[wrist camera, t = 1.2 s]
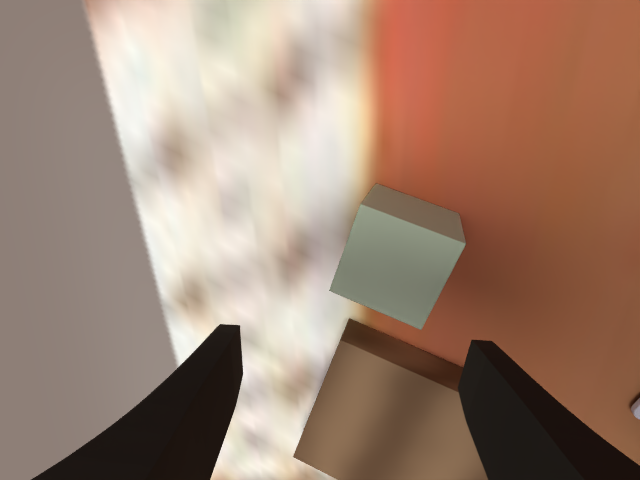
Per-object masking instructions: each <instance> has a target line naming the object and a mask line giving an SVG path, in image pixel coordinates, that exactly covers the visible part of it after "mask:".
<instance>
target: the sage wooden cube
mask: <svg viewBox="0 0 640 480" xmlns="http://www.w3.org/2000/svg"><path fill="white" fill-rule="evenodd" d="M465 245H466V242H465V237H464V233H463V228H462V224H461V219H460V215H459V213H456V212H454V211H451V210H448V209H445V208H443V207H440V206H437V205H435V204H432V203H429V202H426V201H424V200H421V199H418V198H415V197H413V196H410V195H407V194H404V193H402V192H399V191H396V190H394V189H391V188H388V187H385V186H383V185H380V184H377V183H376V184H375V185H374V186H373V188H372V189H371V190H370V192H369V193H368V195H367V196H366V197H365V199H364V200H363V201H362V203H361V204H360V207H359V209H358V212H357V215H356V218H355V221H354V223H353V226H352V229H351V232H350V235H349V237H348V240H347V243H346V246H345V248H344V251H343V254H342V257H341V260H340V262H339V265H338V268H337V271H336V274H335V276H334V279H333V282H332V285H331V287H330V290H329V291H331V292H333V293H336V294H338V295H340V296H343V297H345V298H347V299H350V300H352V301H354V302H357V303H359V304H362V305H364V306H366V307H369V308H371V309H373V310H376V311H378V312H380V313H383V314H385V315H387V316H390V317H392V318H395V319H397V320H399V321H402V322H404V323H406V324H409V325H411V326H413V327H416V328H418V329H420V330H421V329H422V327H423V325H424V324H425V322H426V320H427V318H428V316H429V314H430V312H431V310H432V308H433V306H434V304H435V302H436V301H437V299H438V297H439V295H440V293H441V291H442V289H443V287H444V285H445V283H446V281H447V279H448V278H449V276H450V274H451V272H452V270H453V268H454V266H455V264H456V262H457V260H458V258H459V256H460V255H461V253H462V251H463V249H464V247H465Z"/></svg>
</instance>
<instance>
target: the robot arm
mask: <svg viewBox="0 0 640 480" xmlns="http://www.w3.org/2000/svg"><path fill="white" fill-rule="evenodd" d="M242 376H243V365H242V351H241V336H240V325H225V324H220V325H219V326H218V327H217V328H216V329H215V330H214V331H213V332H212V333H211V334H210V335H209V336H208V337H207V338H206V340H205V341H204V342H203V343H202V344H201V345H200V346H199V347H198V348H197V349H196V350H195V351H194V352H193V353H192V354H191V355H190V356H189V357H188V358H187V359H186V360H185V361H184V362H183V363H182V364H181V365H180V366H179V367H178V368H177V369H176V370H175V371H174V372H173V373H172V374H171V375H170V376H169V377H168V378H167V379H166V380H165V381H164V382H163V383H161V384H160V385H159V386H158V387H157V388H156V389H155V390H154V391H153V392H152V393H151V394H149V395H148V396H147V397H146V398H145V399H144V400H142V401H141V402H140V403H139V404H138V405H137V406H136V407H134V408H133V409H132V410H130V411H129V412H128V413H127V414H126V415H124V416H123V417H122V418H120V419H119V420H118V421H117V422H115V423H114V424H113V425H112V426H110V427H109V428H107V429H106V430H105V431H103V432H102V433H101V434H99V435H98V436H96V437H95V438H94V439H92V440H91V441H89V442H88V443H86V444H85V445H84V446H82V447H81V448H79V449H78V450H76V451H75V452H74V453H72V454H71V455H69V456H68V457H66V458H65V459H63V460H62V461H60V462H58V463H57V464H56V465H54V466H52V467H51V468H49V469H47V470H46V471H44V472H43V473H41V474H40V475H38V476H36V477H35V478H33V479H32V480H210V478H211V475H212V473H213V470H214V467H215V464H216V461H217V458H218V455H219V453H220V450H221V447H222V444H223V441H224V438H225V436H226V433H227V430H228V427H229V424H230V421H231V418H232V415H233V413H234V410H235V407H236V403H237V399H238V394H239V390H240V386H241V381H242ZM458 392H459V396H460V400H461V404H462V408H463V412H464V416H465V420H466V423H467V426H468V428H469V431H470V434H471V436H472V439H473V442H474V444H475V447H476V449H477V452H478V455H479V457H480V460H481V462H482V465H483V468H484V470H485V473H486V475H487V478H488V480H640V466H639V465H638V464H636V463H635V462H634V461H632V460H631V459H630V458H628V457H627V456H626V455H624V454H623V453H622V452H620V451H619V450H618V449H616V448H615V447H614V446H612V445H611V444H610V443H608V442H607V441H606V440H604V439H603V438H602V437H600V436H599V435H598V434H597V433H595V432H594V431H593V430H592V429H590V428H589V427H588V426H587V425H585V424H584V423H583V422H582V421H581V420H579V419H578V418H577V417H576V416H575V415H573V414H572V413H571V412H570V411H569V410H567V409H566V408H565V407H564V406H563V405H562V404H560V403H559V402H558V401H557V400H556V399H555V398H554V397H552V396H551V395H550V394H549V393H548V392H547V391H546V390H545V389H543V388H542V387H541V386H540V385H539V384H538V383H537V382H536V381H535V380H534V379H533V378H531V377H530V376H529V375H528V374H527V373H526V372H525V371H524V370H523V369H522V368H521V367H520V366H518V365H517V364H516V363H515V362H514V361H513V360H512V359H511V358H510V357H509V356H508V355H507V354H506V353H505V352H503V351H502V350H501V349H500V348H499V347H498V346H497V345H496V344H495V343H493V342H492V341H483V340H471V344H470V347H469V351H468V354H467V357H466V361H465V364H464V368H463V371H462V374H461V378H460V381H459V385H458ZM631 411H632V413H633V414H634V416H635V417H636V418H638V419H640V398H639V399H638V400H637V401H636V402H635V403H634V404H633V405H632V407H631Z"/></svg>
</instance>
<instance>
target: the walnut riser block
mask: <svg viewBox="0 0 640 480" xmlns="http://www.w3.org/2000/svg"><path fill="white" fill-rule="evenodd" d="M462 371H463V368H462V367H460V366H458V365H455V364H453V363H451V362H448V361H446V360H444V359H442V358H439V357H437V356H435V355H432V354H430V353H428V352H425V351H423V350H421V349H419V348H416V347H414V346H412V345H409V344H407V343H405V342H402V341H400V340H398V339H396V338H393V337H391V336H389V335H386V334H384V333H382V332H379V331H377V330H375V329H373V328H370V327H368V326H366V325H363V324H361V323H359V322H356V321H354V320H352V319H350V318H349V320H348V323H347V325H346V328H345V330H344V332H343V335H342V337H341V340H340V342H339V345H338V347H337V350H336V352H335V355H334V357H333V359H332V362H331V364H330V367H329V369H328V372H327V374H326V377H325V379H324V381H323V384H322V386H321V389H320V391H319V394H318V396H317V399H316V401H315V404H314V406H313V408H312V411H311V413H310V416H309V418H308V421H307V423H306V426H305V428H304V431H303V433H302V436H301V438H300V441H299V443H298V446H297V448H296V451H295V453H294V456H293V457H294V458H296V459H298V460H300V461H302V462H304V463H306V464H308V465H310V466H312V467H314V468H316V469H318V470H320V471H322V472H324V473H326V474H328V475H330V476H332V477H334V478H336V479H338V480H488V478H487V475H486V473H485V470H484V468H483V465H482V462H481V460H480V457H479V455H478V452H477V449H476V447H475V444H474V442H473V439H472V436H471V434H470V431H469V428H468V426H467V423H466V420H465V416H464V412H463V408H462V404H461V400H460V396H459V392H458V385H459V381H460V378H461V374H462Z"/></svg>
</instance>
